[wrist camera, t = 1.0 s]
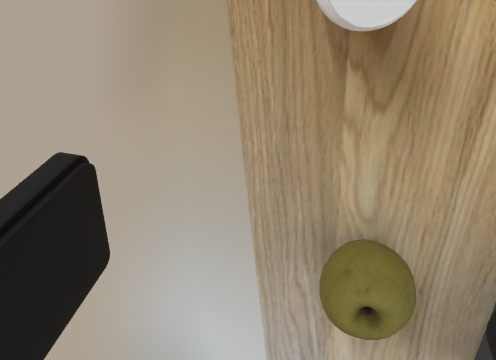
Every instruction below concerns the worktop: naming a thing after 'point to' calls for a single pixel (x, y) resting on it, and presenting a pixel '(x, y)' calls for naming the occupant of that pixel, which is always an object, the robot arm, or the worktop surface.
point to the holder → (485, 347)
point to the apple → (367, 290)
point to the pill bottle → (364, 12)
